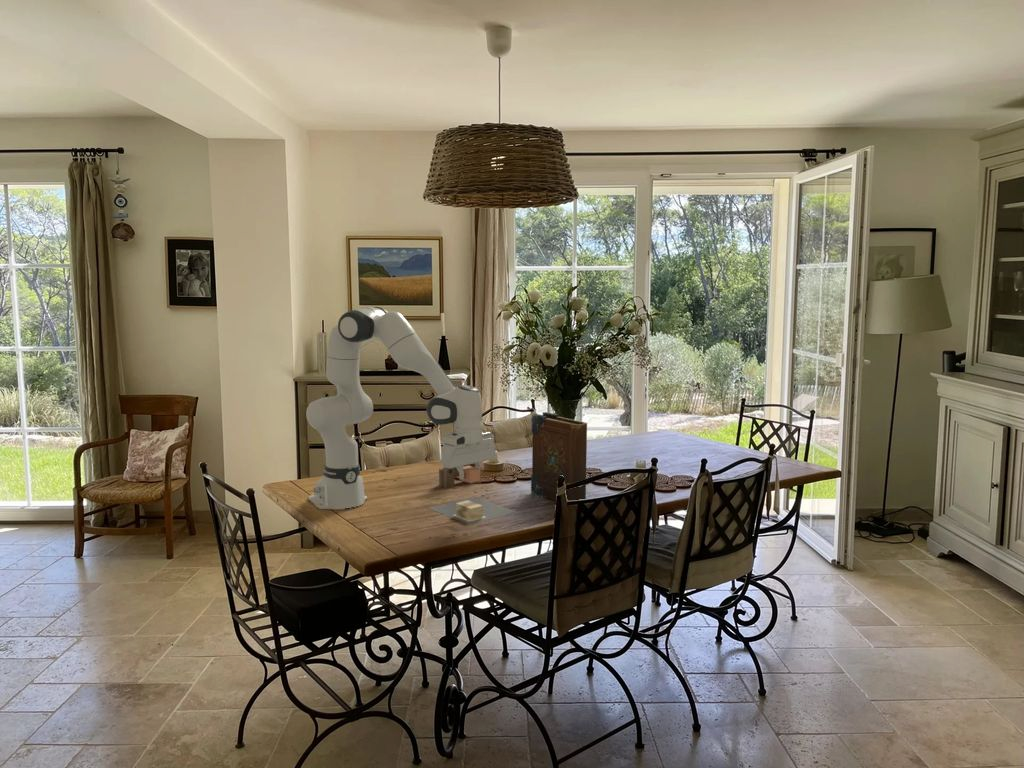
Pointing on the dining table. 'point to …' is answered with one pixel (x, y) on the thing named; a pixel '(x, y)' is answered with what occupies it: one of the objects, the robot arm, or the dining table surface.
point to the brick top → (471, 474)
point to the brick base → (469, 510)
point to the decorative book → (558, 455)
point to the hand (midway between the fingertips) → (469, 476)
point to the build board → (488, 508)
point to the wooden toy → (451, 476)
